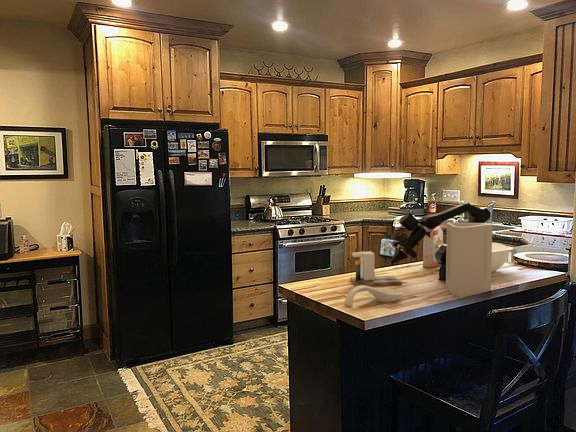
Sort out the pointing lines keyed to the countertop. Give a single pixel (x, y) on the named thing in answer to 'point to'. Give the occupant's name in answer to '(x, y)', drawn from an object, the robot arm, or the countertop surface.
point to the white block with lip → (366, 264)
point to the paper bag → (468, 258)
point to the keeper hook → (358, 269)
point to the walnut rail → (377, 281)
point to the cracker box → (432, 246)
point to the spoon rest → (374, 294)
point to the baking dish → (498, 255)
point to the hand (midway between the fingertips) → (391, 262)
